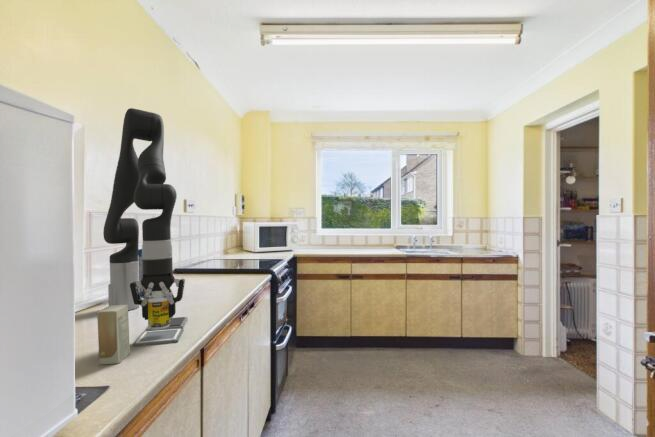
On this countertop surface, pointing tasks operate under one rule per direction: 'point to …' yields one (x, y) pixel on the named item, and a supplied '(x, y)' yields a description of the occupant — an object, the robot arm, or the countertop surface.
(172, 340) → the grey square pad
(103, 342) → the skincare box
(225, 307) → the countertop surface
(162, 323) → the supplement bottle
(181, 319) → the ink pad
